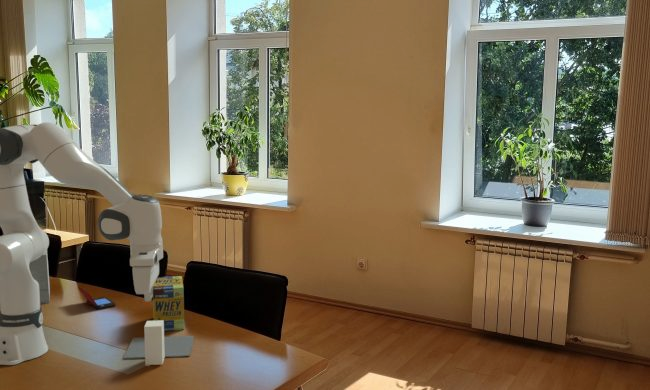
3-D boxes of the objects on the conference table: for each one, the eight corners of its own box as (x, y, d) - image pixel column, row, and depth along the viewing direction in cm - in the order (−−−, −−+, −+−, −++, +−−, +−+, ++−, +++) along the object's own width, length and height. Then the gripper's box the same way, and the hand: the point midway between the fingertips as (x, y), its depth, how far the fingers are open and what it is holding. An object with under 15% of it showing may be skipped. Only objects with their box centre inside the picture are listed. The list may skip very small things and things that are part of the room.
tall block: (145, 366, 179) (144, 326, 178) (148, 359, 184) (147, 320, 182) (162, 365, 180) (161, 326, 178) (164, 358, 185) (163, 320, 183)
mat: (123, 359, 184) (123, 357, 184) (133, 339, 200) (133, 337, 199) (189, 356, 186) (189, 355, 186) (193, 337, 202) (193, 335, 202)
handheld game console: (116, 307, 232) (116, 288, 231) (88, 312, 225) (87, 293, 224) (105, 298, 241) (104, 281, 240) (77, 304, 234) (77, 285, 233)
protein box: (153, 332, 206) (152, 289, 204) (154, 317, 220) (152, 276, 218) (184, 330, 209) (183, 287, 206) (183, 315, 223) (182, 275, 221)
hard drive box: (29, 294, 245) (26, 246, 242) (49, 291, 248) (47, 245, 245) (28, 305, 231) (25, 255, 228) (50, 303, 234) (47, 253, 231)
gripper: (141, 244, 178) (143, 289, 180) (128, 262, 158) (130, 312, 160) (163, 243, 179) (164, 288, 181) (152, 261, 158) (154, 311, 161)
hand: (148, 299), depth 170 cm, fingers closed
